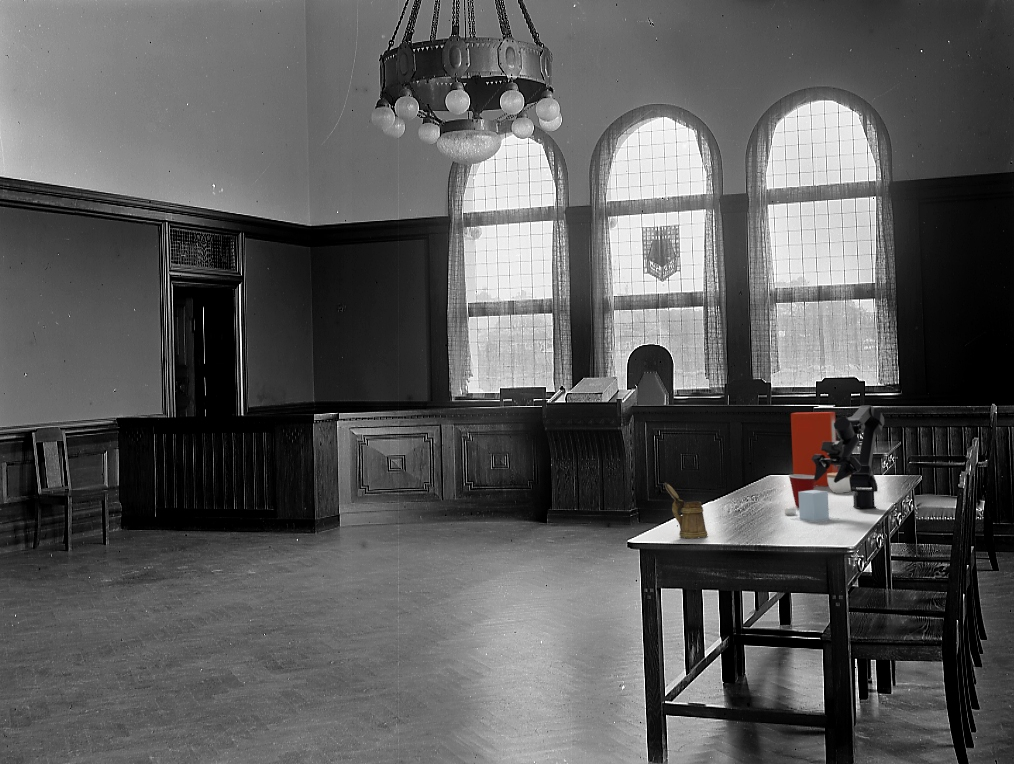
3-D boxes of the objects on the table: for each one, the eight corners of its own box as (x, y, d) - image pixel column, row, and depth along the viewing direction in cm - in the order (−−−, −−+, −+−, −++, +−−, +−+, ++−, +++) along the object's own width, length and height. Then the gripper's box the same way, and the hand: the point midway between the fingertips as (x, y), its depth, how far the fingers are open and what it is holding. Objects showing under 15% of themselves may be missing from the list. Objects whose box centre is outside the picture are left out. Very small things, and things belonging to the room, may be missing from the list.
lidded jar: (826, 493, 450) (825, 471, 450) (829, 490, 460) (828, 468, 459) (853, 493, 446) (852, 471, 445) (855, 490, 456) (854, 468, 455)
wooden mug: (669, 534, 368) (667, 480, 368) (709, 534, 363) (707, 480, 363) (663, 538, 360) (661, 484, 359) (704, 538, 355) (702, 483, 354)
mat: (813, 516, 391) (813, 515, 391) (839, 519, 380) (839, 518, 380) (789, 520, 385) (789, 518, 385) (814, 523, 374) (814, 522, 374)
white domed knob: (793, 514, 397) (793, 507, 397) (797, 516, 393) (797, 508, 393) (783, 515, 397) (782, 507, 397) (786, 516, 393) (786, 509, 393)
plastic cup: (820, 507, 411) (818, 476, 411) (790, 508, 413) (789, 476, 413) (817, 504, 421) (816, 473, 421) (788, 504, 424) (787, 473, 423)
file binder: (799, 483, 489) (796, 412, 488) (838, 484, 479) (835, 411, 479) (793, 485, 482) (790, 413, 481) (832, 486, 472) (829, 412, 472)
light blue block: (814, 516, 387) (812, 489, 387) (828, 518, 381) (827, 491, 381) (799, 518, 384) (798, 491, 384) (814, 520, 378) (813, 493, 378)
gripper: (813, 432, 396) (793, 465, 390) (853, 433, 380) (832, 468, 374) (830, 451, 400) (809, 484, 395) (870, 454, 384) (849, 488, 378)
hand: (824, 481), depth 385 cm, fingers open, 9 cm apart
